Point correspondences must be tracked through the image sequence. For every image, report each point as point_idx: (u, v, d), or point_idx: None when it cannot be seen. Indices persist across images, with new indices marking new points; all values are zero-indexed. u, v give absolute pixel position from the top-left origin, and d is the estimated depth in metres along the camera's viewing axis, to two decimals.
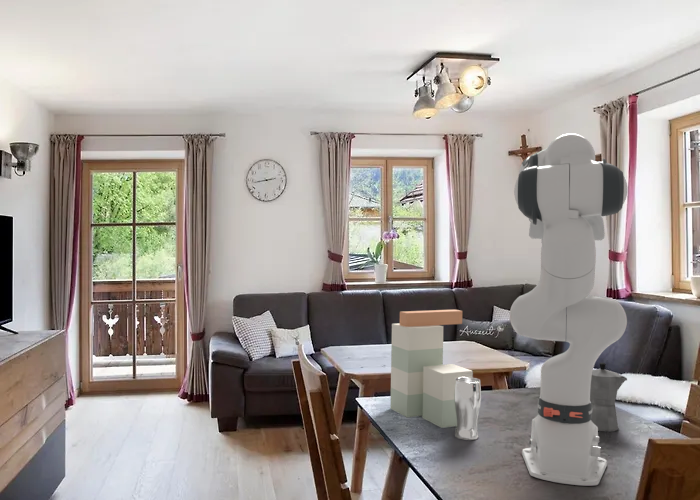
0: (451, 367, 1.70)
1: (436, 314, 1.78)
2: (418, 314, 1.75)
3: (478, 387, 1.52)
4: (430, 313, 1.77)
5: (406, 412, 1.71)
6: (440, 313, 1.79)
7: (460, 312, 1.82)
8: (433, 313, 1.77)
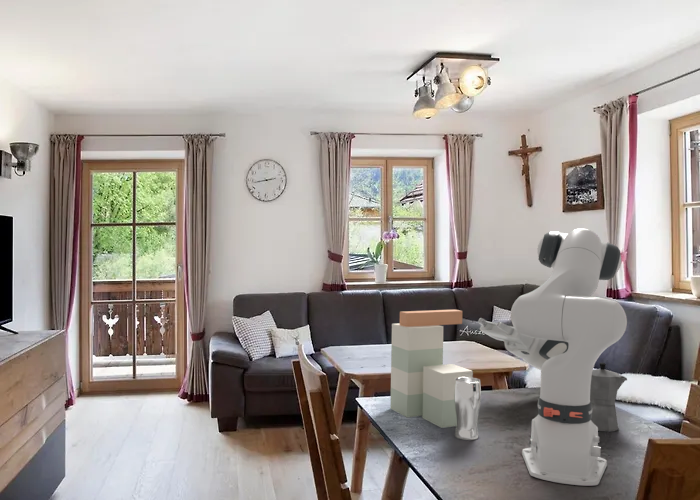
0: (451, 367, 1.70)
1: (436, 314, 1.78)
2: (418, 314, 1.75)
3: (478, 387, 1.52)
4: (430, 313, 1.77)
5: (406, 412, 1.71)
6: (440, 313, 1.79)
7: (460, 312, 1.82)
8: (433, 313, 1.77)
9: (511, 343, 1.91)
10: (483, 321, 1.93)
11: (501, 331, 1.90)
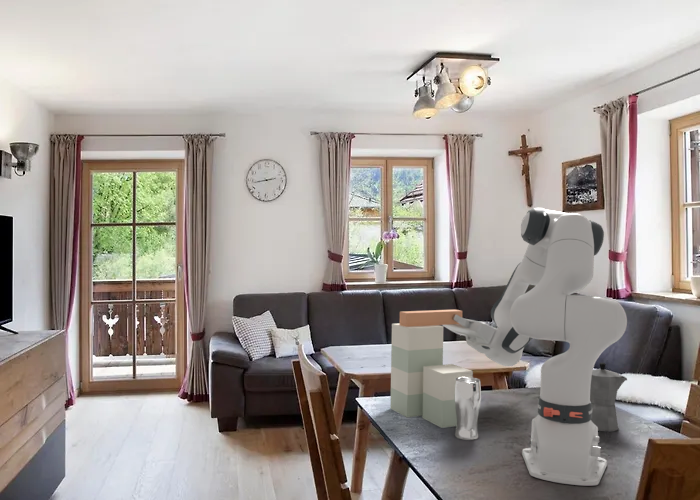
0: (451, 367, 1.70)
1: (436, 314, 1.78)
2: (418, 314, 1.75)
3: (478, 387, 1.52)
4: (430, 313, 1.77)
5: (406, 412, 1.71)
6: (440, 313, 1.79)
7: (460, 312, 1.82)
8: (433, 313, 1.77)
9: (472, 337, 1.84)
10: None
11: (461, 325, 1.83)
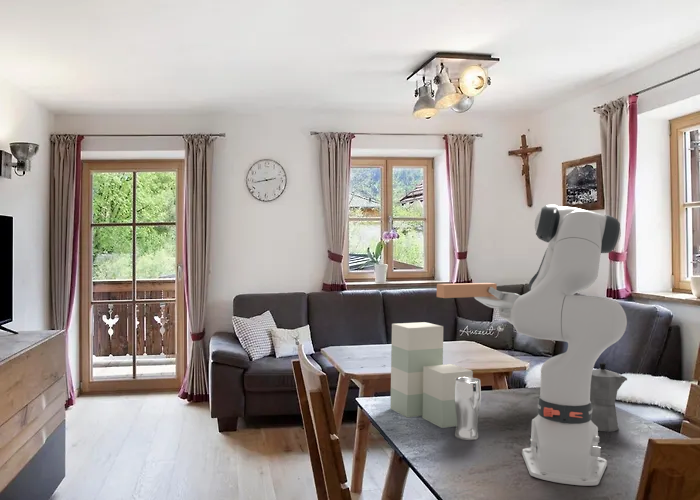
0: (451, 367, 1.70)
1: (472, 286, 1.83)
2: (455, 286, 1.81)
3: (478, 387, 1.52)
4: (466, 285, 1.82)
5: (406, 412, 1.71)
6: (476, 285, 1.84)
7: (494, 285, 1.87)
8: (469, 285, 1.83)
9: (505, 310, 1.90)
10: None
11: (495, 297, 1.89)
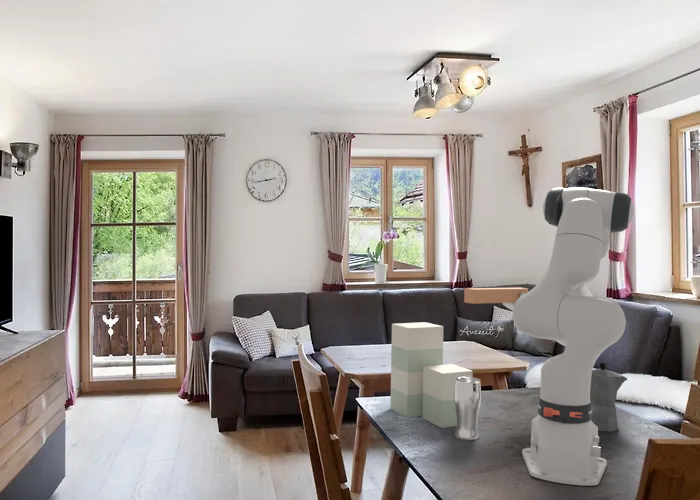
0: (451, 367, 1.70)
1: (502, 291, 1.70)
2: (485, 291, 1.68)
3: (478, 387, 1.52)
4: (496, 290, 1.69)
5: (406, 412, 1.71)
6: (506, 290, 1.71)
7: (526, 290, 1.74)
8: (499, 290, 1.70)
9: None
10: None
11: None
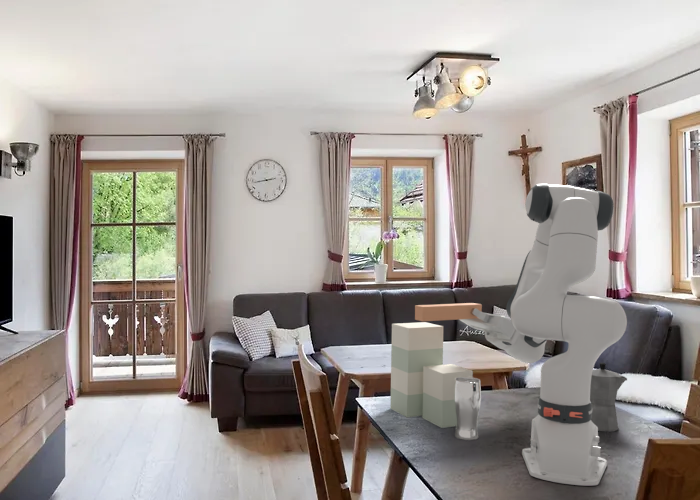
0: (451, 367, 1.70)
1: (454, 308, 1.66)
2: (435, 308, 1.64)
3: (478, 387, 1.52)
4: (448, 307, 1.65)
5: (406, 412, 1.71)
6: (458, 307, 1.67)
7: (479, 306, 1.70)
8: (451, 307, 1.66)
9: (491, 333, 1.73)
10: None
11: (480, 319, 1.72)
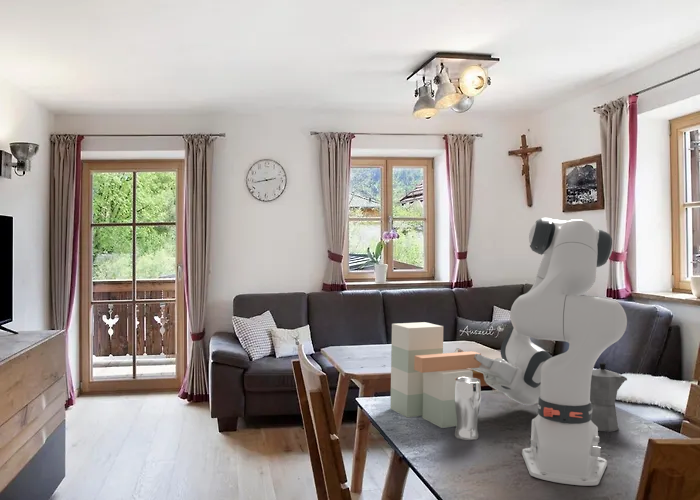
0: None
1: (453, 358, 1.66)
2: (435, 359, 1.64)
3: (478, 387, 1.52)
4: (447, 357, 1.65)
5: (406, 412, 1.71)
6: (458, 357, 1.67)
7: None
8: (450, 357, 1.66)
9: (491, 376, 1.73)
10: None
11: None
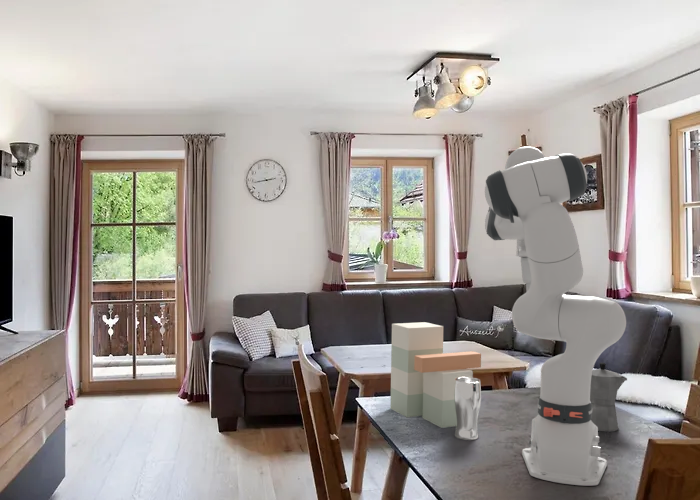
0: None
1: (453, 358, 1.66)
2: (435, 359, 1.64)
3: (478, 387, 1.52)
4: (447, 357, 1.65)
5: (406, 412, 1.71)
6: (458, 357, 1.67)
7: (479, 355, 1.70)
8: (450, 357, 1.66)
9: None
10: None
11: None
